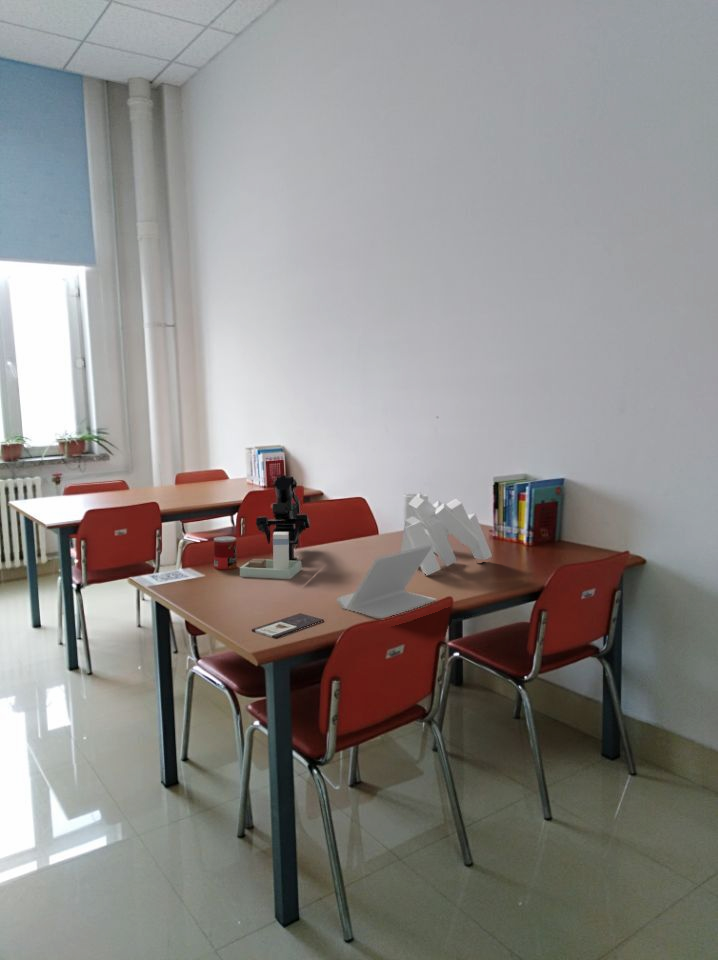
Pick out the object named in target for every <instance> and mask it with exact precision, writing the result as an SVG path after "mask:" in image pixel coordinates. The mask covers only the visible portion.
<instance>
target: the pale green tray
mask: <svg viewBox="0 0 718 960" xmlns="http://www.w3.org/2000/svg"><path fill="white" fill-rule="evenodd" d="M253 559H254V558H252V559H251V560H253ZM265 559H266V568H249V562H250V561H251V560H249V561H247V562H246V563H245V564H243V565H242V566H240V567H239V577H241V578H242V577H243V578H259V579H260V578H262V579H280V580H291V579H292V578H293V577H295V576H296V575H297V574H298V573H299V572H300V571H302V561H301V560H290V561H289V569H273V559H267V558H265Z"/></svg>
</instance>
